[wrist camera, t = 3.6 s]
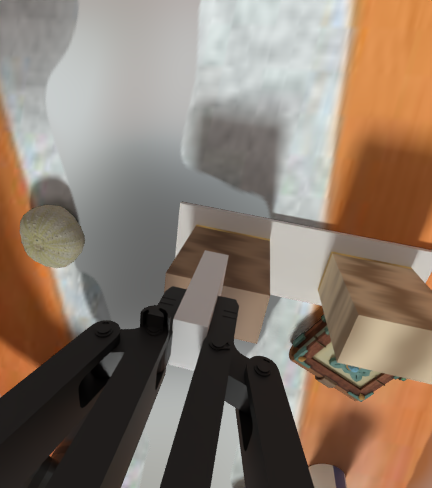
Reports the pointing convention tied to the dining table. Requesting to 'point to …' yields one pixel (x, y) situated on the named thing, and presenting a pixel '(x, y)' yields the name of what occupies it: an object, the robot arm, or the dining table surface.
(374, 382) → the decorative book
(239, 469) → the dining table surface
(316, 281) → the felt mat
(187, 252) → the walnut block
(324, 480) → the water bottle
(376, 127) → the dining table surface
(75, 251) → the sea urchin shell
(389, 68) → the dining table surface
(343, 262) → the oak block
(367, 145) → the dining table surface
